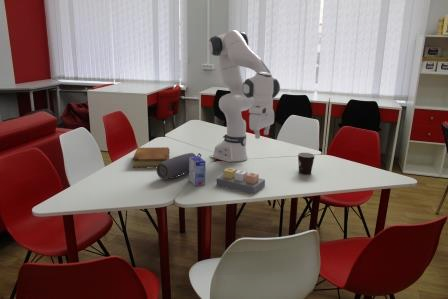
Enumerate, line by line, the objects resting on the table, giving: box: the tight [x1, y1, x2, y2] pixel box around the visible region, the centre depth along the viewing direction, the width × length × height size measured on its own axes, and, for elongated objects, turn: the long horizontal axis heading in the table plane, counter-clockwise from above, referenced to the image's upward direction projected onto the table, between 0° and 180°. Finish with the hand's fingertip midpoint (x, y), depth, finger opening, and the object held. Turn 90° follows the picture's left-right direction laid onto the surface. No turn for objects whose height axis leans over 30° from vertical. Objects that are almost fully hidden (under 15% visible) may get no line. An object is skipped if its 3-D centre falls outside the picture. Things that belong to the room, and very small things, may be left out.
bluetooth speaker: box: [155, 152, 197, 180], centre depth 195 cm, size 23×9×10 cm, turn 145°
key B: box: [235, 169, 248, 182], centre depth 183 cm, size 4×4×5 cm
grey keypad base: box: [216, 174, 266, 195], centre depth 184 cm, size 20×12×4 cm, turn 59°
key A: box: [223, 167, 237, 179], centre depth 186 cm, size 4×4×5 cm
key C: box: [246, 172, 259, 184], centre depth 180 cm, size 4×4×5 cm
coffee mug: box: [297, 152, 316, 176], centre depth 205 cm, size 12×9×10 cm
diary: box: [131, 146, 170, 169], centre depth 217 cm, size 23×19×6 cm
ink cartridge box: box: [188, 153, 206, 187], centre depth 185 cm, size 10×6×14 cm, turn 23°
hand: (261, 136), depth 182 cm, fingers open, 8 cm apart
